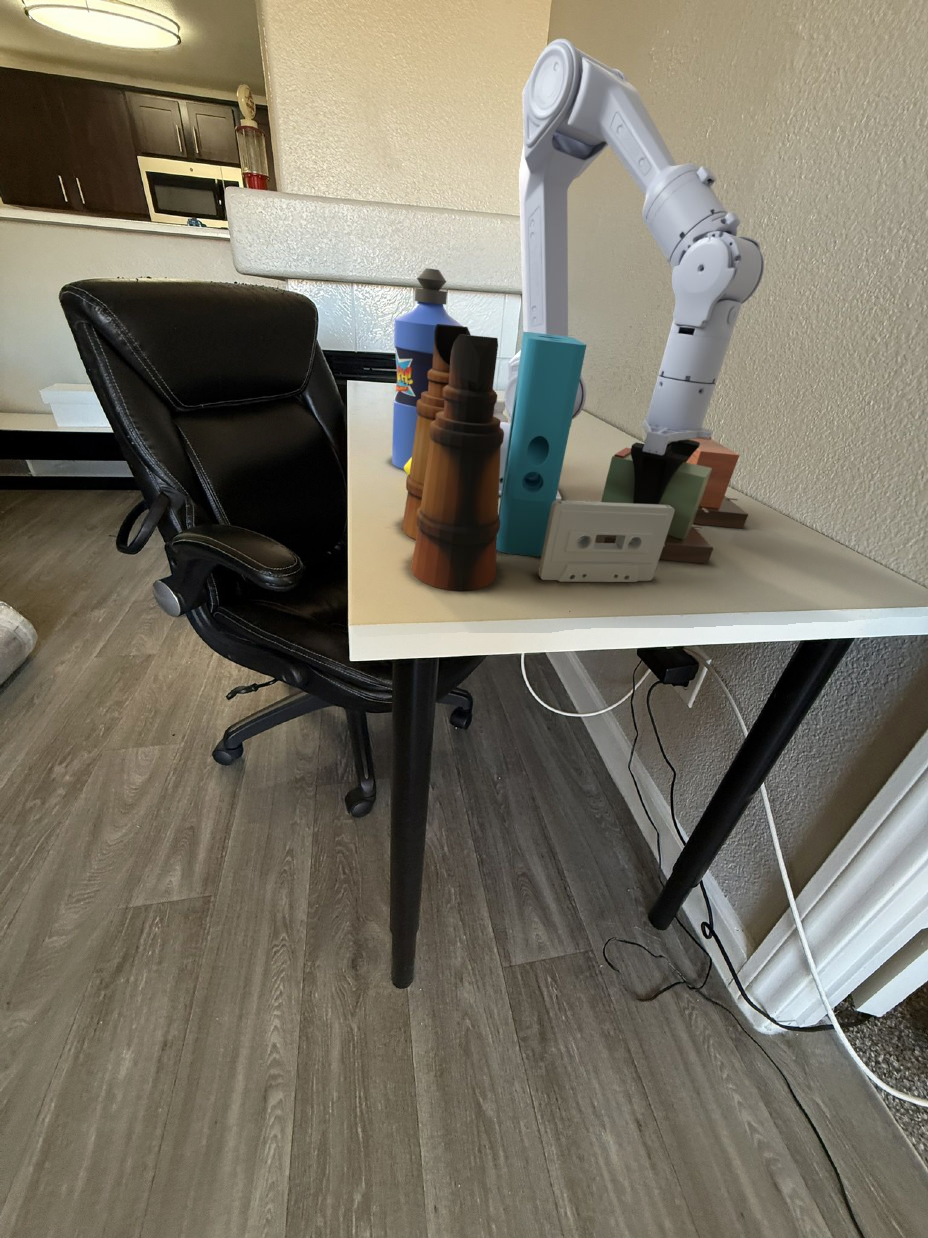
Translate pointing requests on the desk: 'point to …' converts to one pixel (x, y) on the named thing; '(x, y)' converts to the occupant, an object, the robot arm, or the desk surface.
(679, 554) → the front stand
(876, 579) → the desk surface
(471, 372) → the binoculars
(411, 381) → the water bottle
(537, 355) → the block
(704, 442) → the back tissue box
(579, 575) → the cassette
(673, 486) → the green box
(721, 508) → the back stand
